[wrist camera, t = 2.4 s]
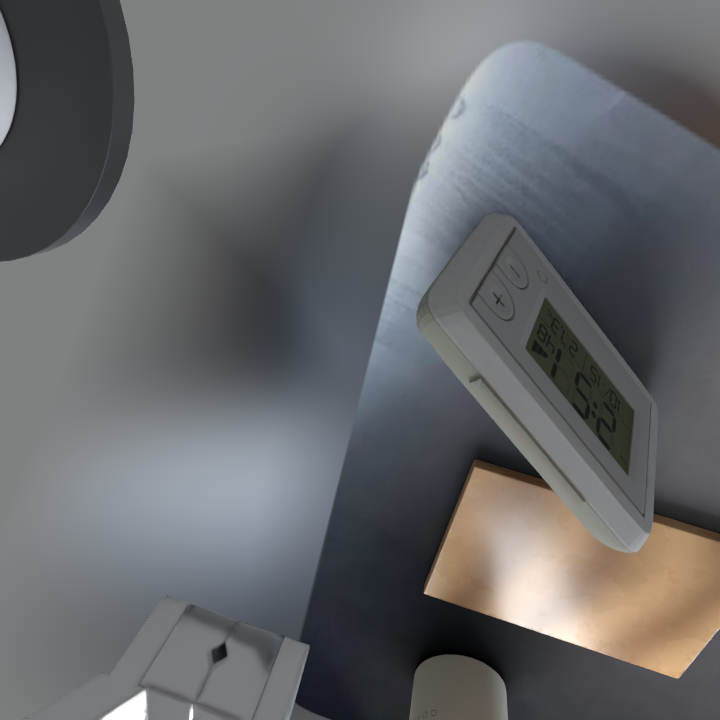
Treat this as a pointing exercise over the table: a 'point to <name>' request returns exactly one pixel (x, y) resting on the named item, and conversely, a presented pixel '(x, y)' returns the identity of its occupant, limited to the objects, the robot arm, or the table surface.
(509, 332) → the digital clock
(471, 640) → the table surface
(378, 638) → the table surface
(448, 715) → the travel mug
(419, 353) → the table surface
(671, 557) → the wooden board
